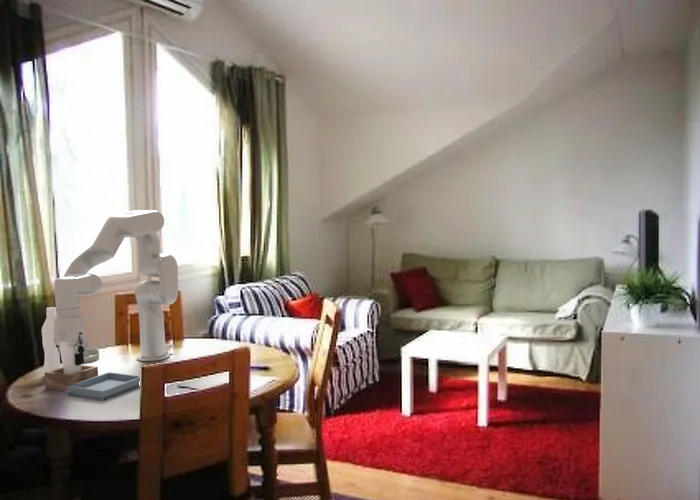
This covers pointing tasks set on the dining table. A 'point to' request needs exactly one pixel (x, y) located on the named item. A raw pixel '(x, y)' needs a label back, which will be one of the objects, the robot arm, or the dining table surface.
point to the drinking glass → (69, 358)
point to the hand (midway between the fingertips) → (72, 363)
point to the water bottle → (50, 342)
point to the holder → (68, 377)
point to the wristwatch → (90, 352)
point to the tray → (104, 386)
